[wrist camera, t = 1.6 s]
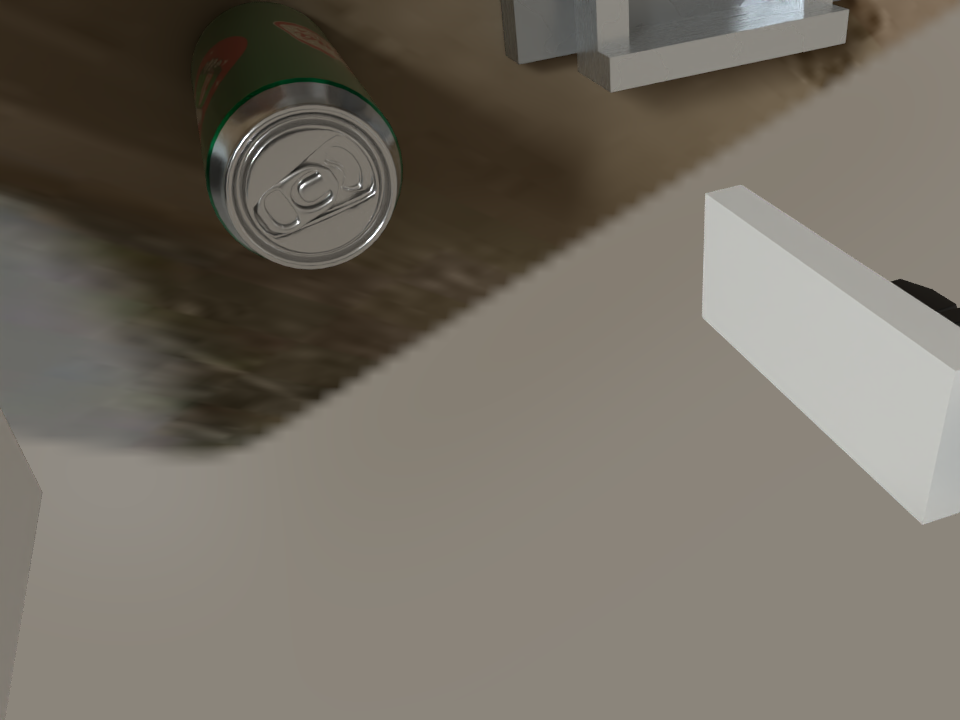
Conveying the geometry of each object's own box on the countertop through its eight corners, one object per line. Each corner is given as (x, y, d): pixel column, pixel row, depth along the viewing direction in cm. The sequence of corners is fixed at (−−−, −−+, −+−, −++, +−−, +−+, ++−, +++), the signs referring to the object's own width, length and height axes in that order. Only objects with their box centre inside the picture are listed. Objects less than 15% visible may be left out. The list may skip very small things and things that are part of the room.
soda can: (361, 96, 34) (446, 216, 24) (246, 168, 34) (285, 317, 24) (284, -31, 31) (346, 47, 21) (159, 49, 31) (162, 163, 21)
